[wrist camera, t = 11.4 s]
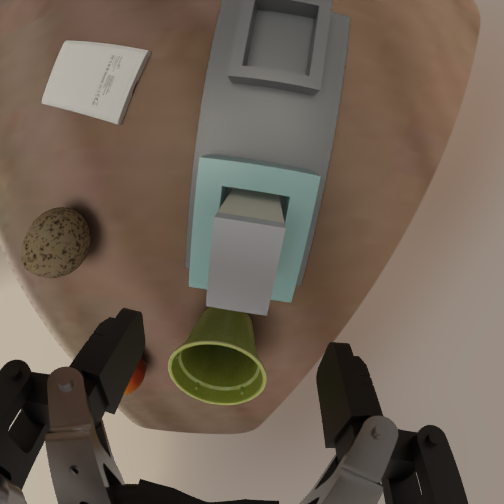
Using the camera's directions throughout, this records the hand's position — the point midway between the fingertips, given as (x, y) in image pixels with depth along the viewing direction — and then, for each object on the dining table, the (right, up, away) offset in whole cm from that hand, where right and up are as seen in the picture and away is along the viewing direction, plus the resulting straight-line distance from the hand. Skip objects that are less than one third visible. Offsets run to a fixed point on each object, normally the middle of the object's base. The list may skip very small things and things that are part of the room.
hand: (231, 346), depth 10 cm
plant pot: (-2, -5, +22) cm, 22 cm away
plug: (+1, +6, +15) cm, 17 cm away
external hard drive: (-16, +22, +11) cm, 30 cm away
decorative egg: (-20, +6, +18) cm, 27 cm away
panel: (+2, +14, +13) cm, 19 cm away
